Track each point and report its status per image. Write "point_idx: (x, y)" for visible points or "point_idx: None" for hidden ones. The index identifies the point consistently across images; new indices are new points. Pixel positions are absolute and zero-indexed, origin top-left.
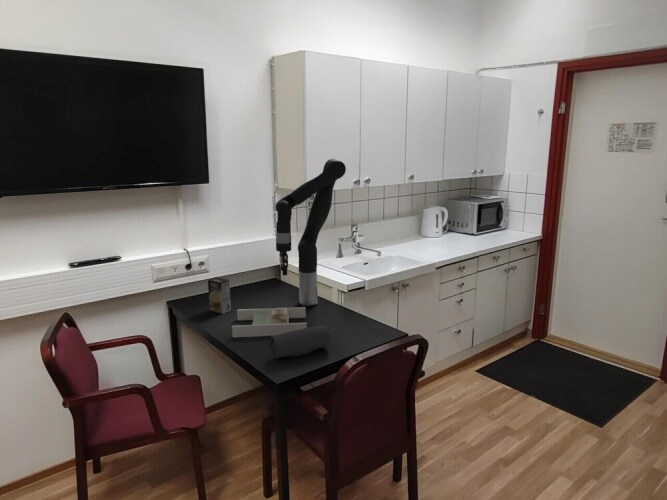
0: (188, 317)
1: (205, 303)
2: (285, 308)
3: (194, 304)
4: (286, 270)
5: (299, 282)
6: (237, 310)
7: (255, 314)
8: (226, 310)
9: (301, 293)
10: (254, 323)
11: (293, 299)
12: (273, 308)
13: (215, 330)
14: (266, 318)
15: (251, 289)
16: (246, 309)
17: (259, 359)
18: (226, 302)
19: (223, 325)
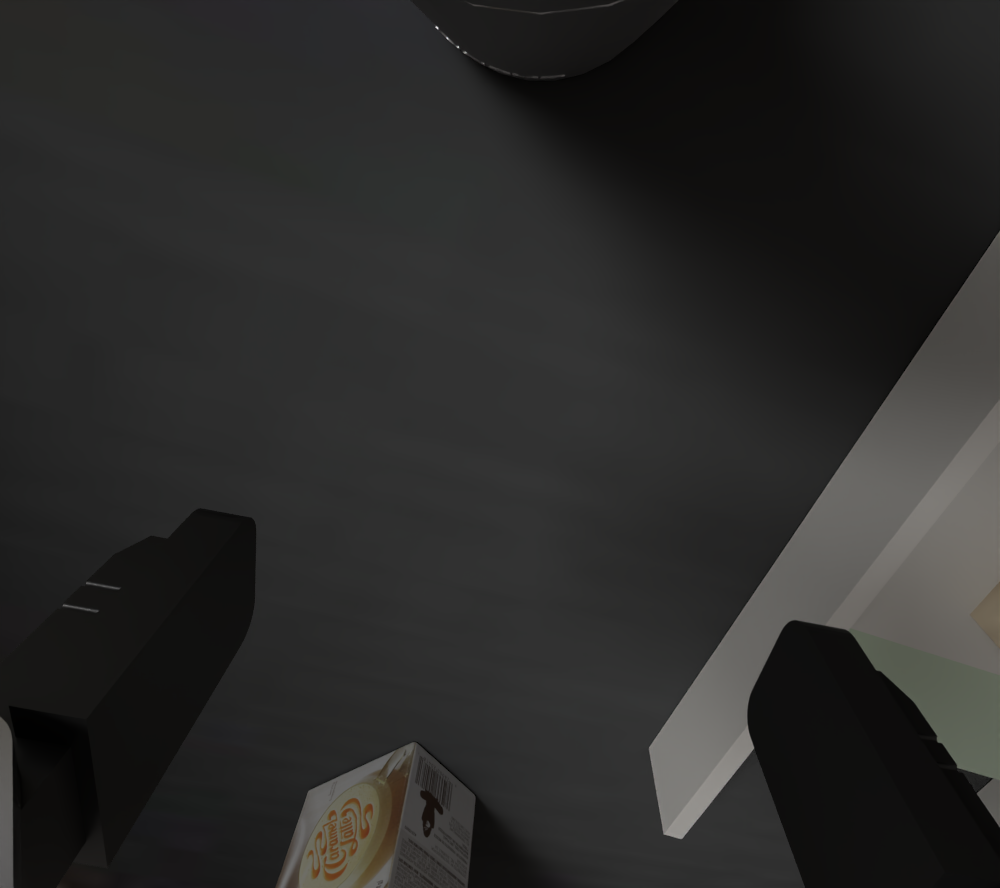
0: None
1: (207, 830)
2: (967, 481)
3: (211, 876)
4: (988, 819)
5: (545, 38)
6: (683, 836)
7: None
8: (448, 785)
9: (609, 49)
10: (972, 757)
11: (318, 111)
12: (858, 593)
13: (755, 874)
14: (942, 658)
15: None
16: (708, 785)
17: None
18: (436, 852)
19: (701, 830)
